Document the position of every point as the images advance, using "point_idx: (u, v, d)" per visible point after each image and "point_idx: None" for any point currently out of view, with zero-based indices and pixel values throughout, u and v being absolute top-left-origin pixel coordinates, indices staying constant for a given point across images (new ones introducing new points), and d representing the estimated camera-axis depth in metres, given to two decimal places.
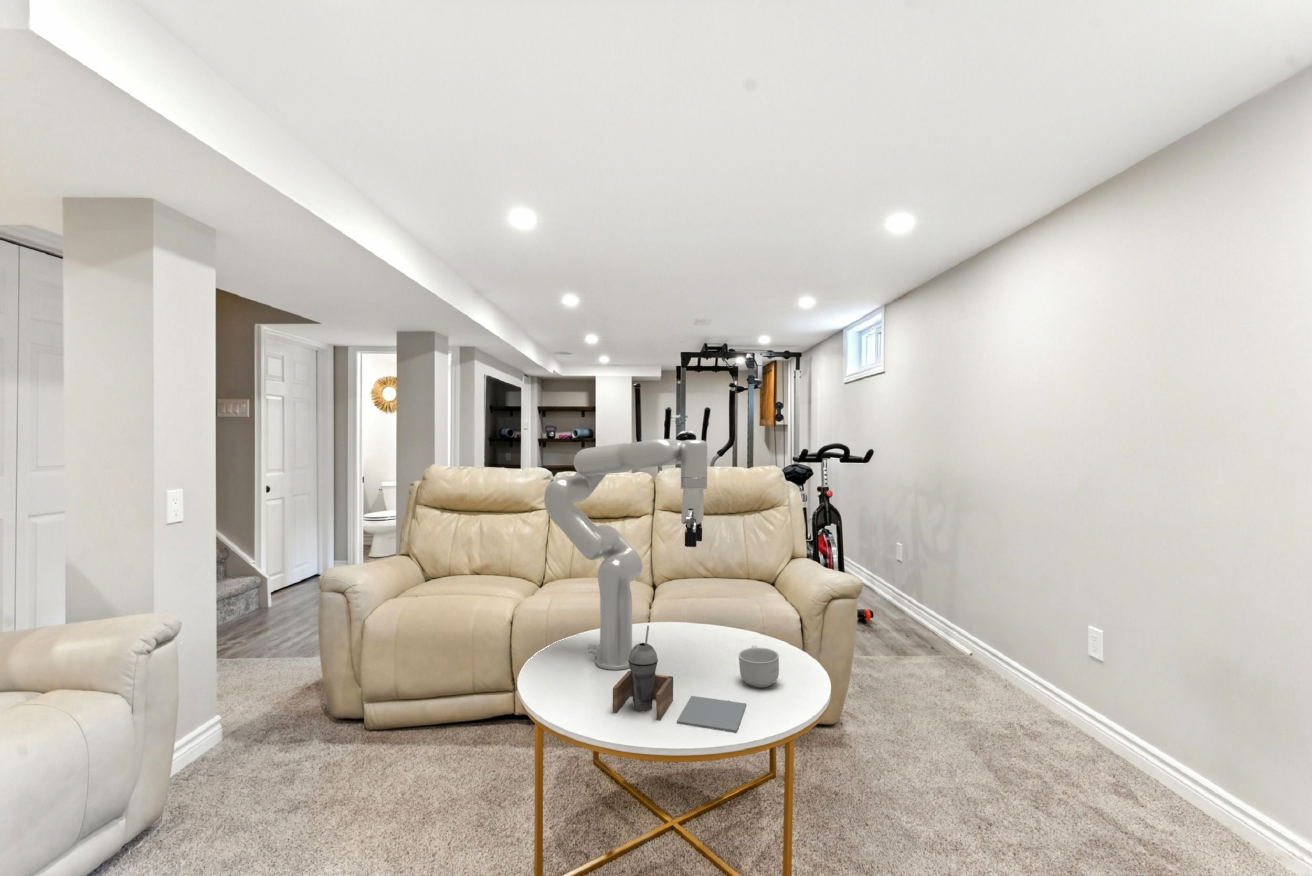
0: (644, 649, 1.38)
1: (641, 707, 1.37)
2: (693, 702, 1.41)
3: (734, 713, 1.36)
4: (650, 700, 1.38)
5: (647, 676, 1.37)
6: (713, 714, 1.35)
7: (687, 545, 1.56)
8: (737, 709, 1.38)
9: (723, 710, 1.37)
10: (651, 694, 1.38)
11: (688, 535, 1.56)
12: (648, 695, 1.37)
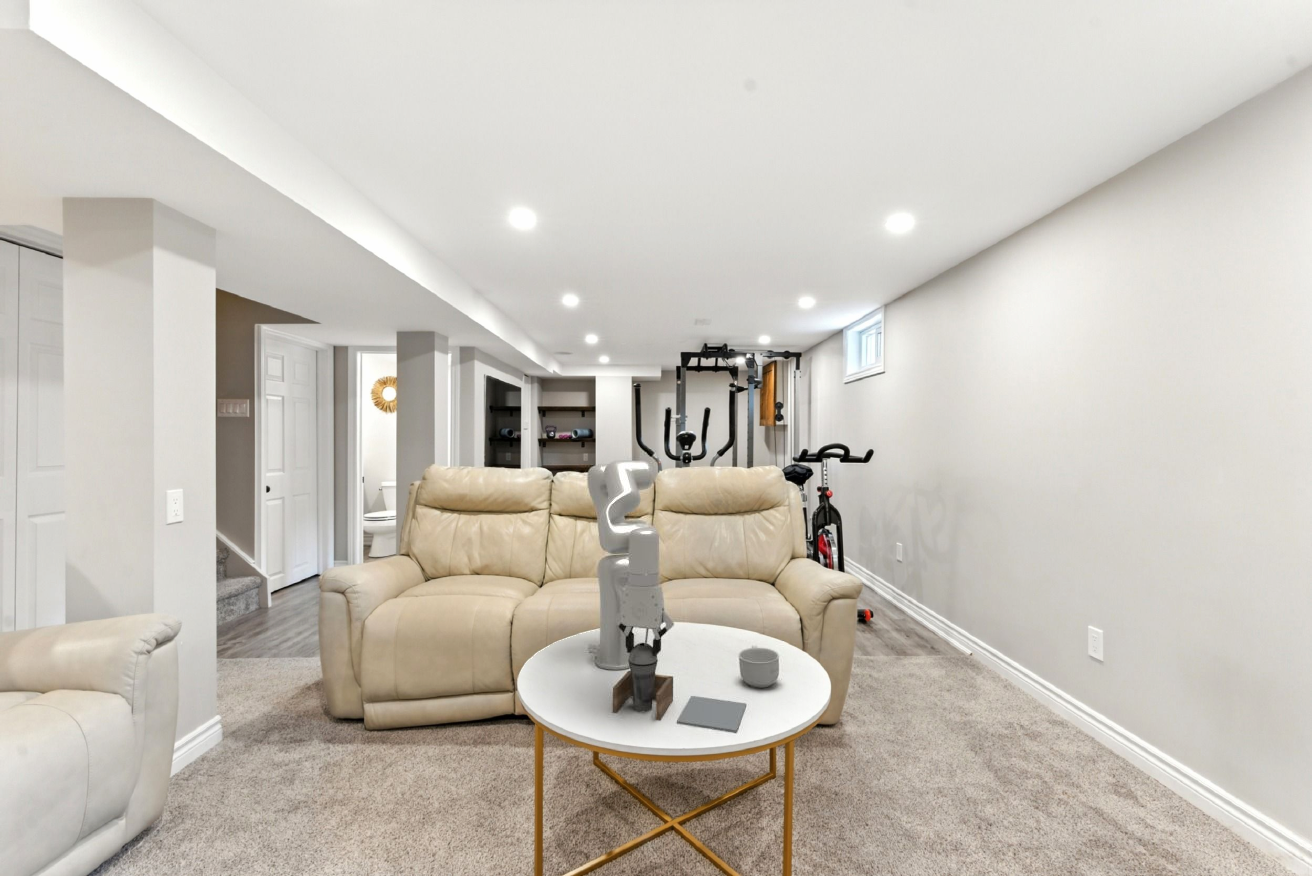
0: (644, 649, 1.38)
1: (641, 707, 1.37)
2: (693, 702, 1.41)
3: (734, 713, 1.36)
4: (650, 700, 1.38)
5: (647, 676, 1.37)
6: (713, 714, 1.35)
7: (656, 653, 1.38)
8: (737, 709, 1.38)
9: (723, 710, 1.37)
10: (651, 694, 1.38)
11: (659, 642, 1.38)
12: (648, 695, 1.37)
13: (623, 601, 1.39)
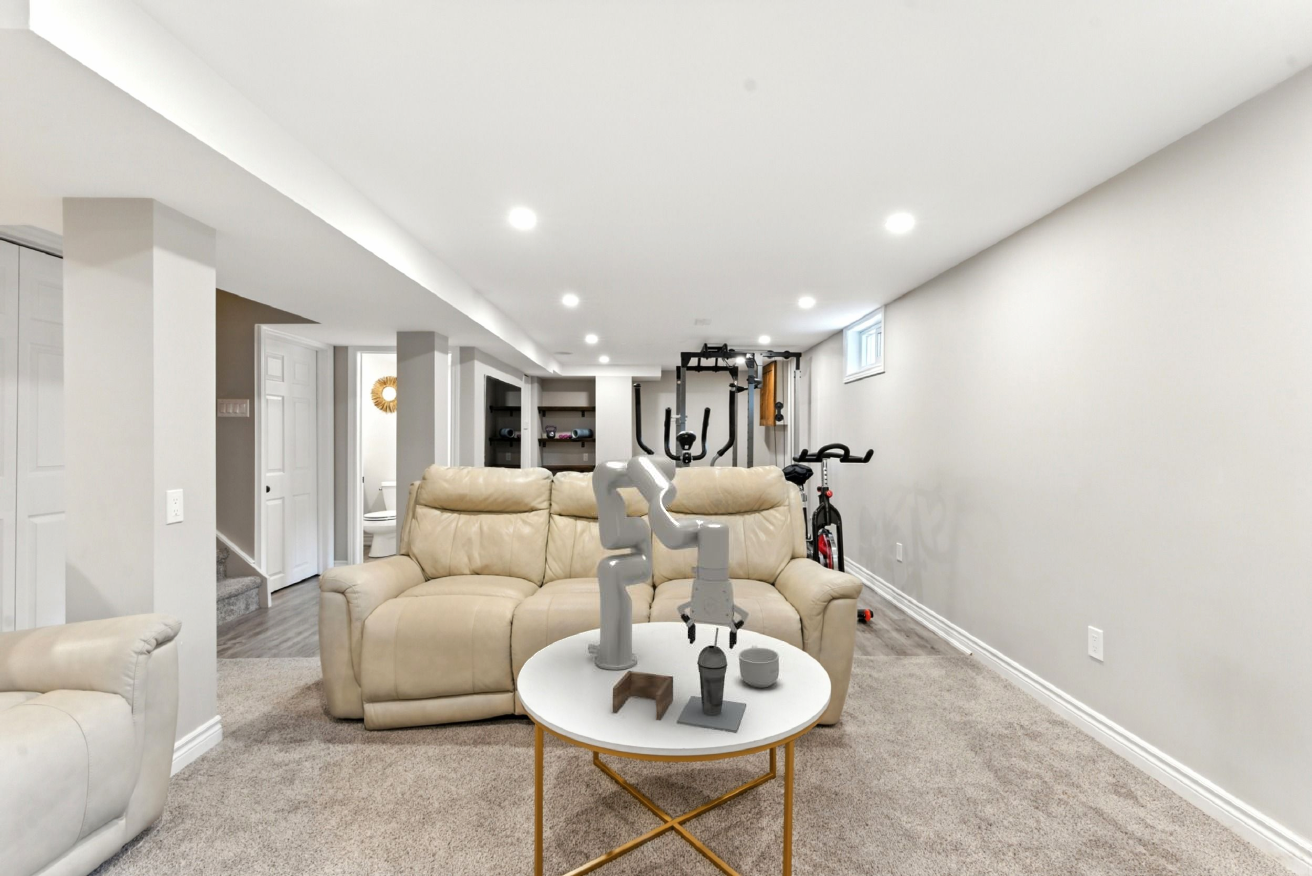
0: (714, 652, 1.35)
1: (711, 711, 1.34)
2: (693, 702, 1.41)
3: (734, 713, 1.36)
4: (720, 704, 1.35)
5: (718, 679, 1.34)
6: None
7: (732, 646, 1.34)
8: (737, 709, 1.38)
9: (723, 710, 1.37)
10: (721, 698, 1.35)
11: (736, 634, 1.35)
12: (719, 699, 1.34)
13: (692, 595, 1.36)
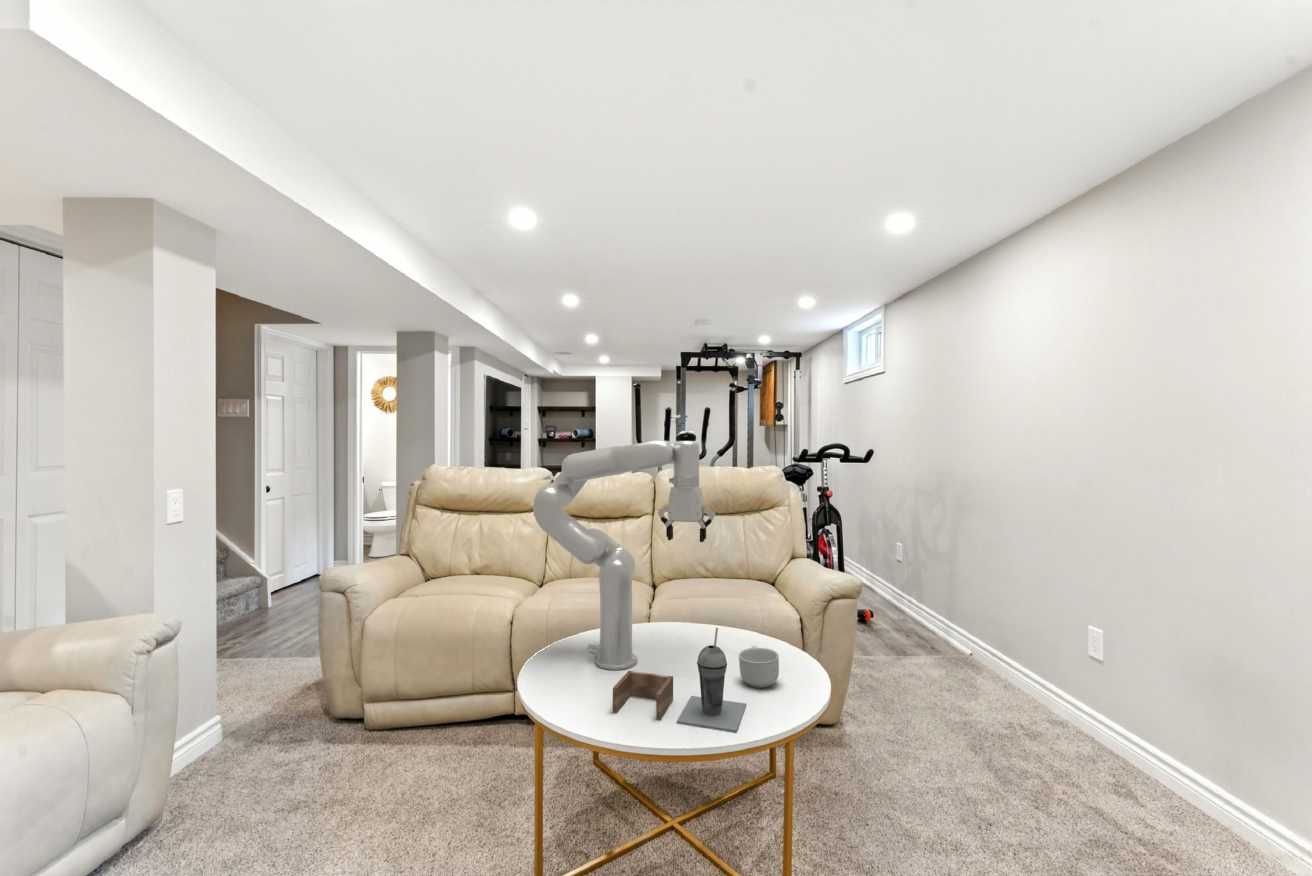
0: (714, 652, 1.35)
1: (711, 711, 1.34)
2: (693, 702, 1.41)
3: (734, 713, 1.36)
4: (720, 704, 1.35)
5: (717, 679, 1.34)
6: None
7: (702, 540, 1.65)
8: (737, 709, 1.38)
9: (723, 710, 1.37)
10: (721, 698, 1.35)
11: (705, 531, 1.66)
12: (719, 699, 1.34)
13: (669, 500, 1.67)
